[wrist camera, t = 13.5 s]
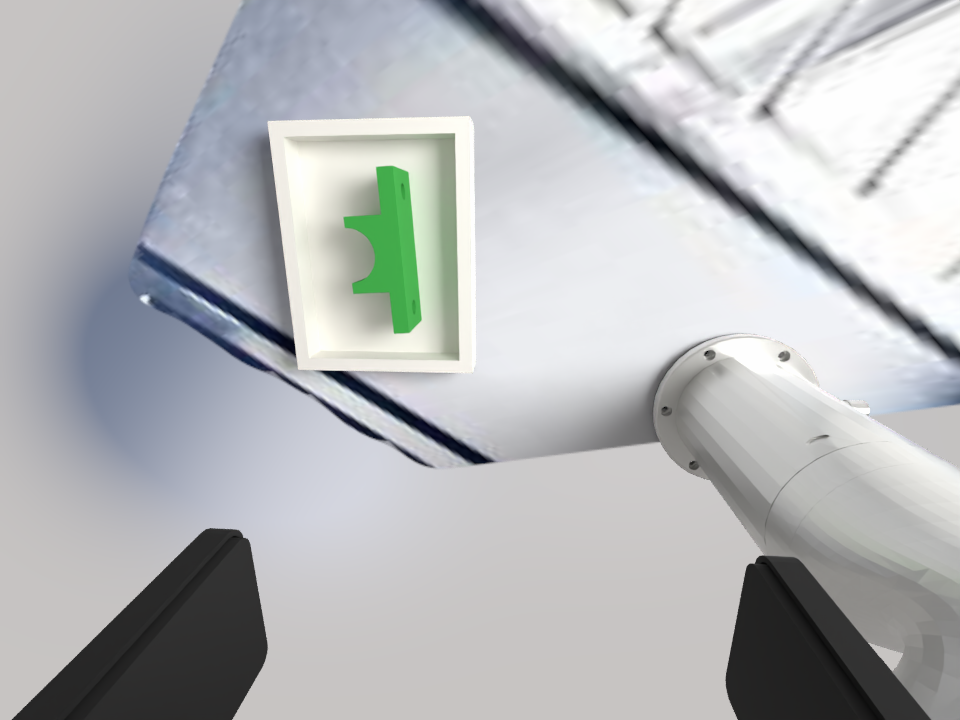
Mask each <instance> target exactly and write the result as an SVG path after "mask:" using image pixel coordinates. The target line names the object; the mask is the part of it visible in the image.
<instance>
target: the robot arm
mask: <svg viewBox="0 0 960 720" xmlns="http://www.w3.org/2000/svg"><path fill="white" fill-rule="evenodd" d="M707 350H708V354H706V355H704V353H705V352H706V351H707ZM780 353H781V354H780ZM779 354H780V355H779ZM665 406H666V408H665V409H663V410H662V408H663V407H665ZM869 411H870V408H869V405H868V403H867V402H866V401H862V400H843V401H841V400H839V399H838V398H837V397H835V396H833V395H831V394H829V393H828V392H826V391H824V390H822V389H821V388H820V386H819V382H818V380H817V377H816V375H815V373H814V370H813V369H812V368H811V366H810V365H809V364H808V362H807V361H806V360H805V359H804V358H803V357H802V356H801V355H800V354H799V353H797V352H796V351H795V350H794V349H792V348H790V347H789V346H787V345H785V344H783V343H781V342H779V341H776V340H774V339H771V338H769V337H765V336H760V335H755V334H733V335H726V336H720V337H717V338H714V339H712V340H709V341H706V342H704V343H702V344H700V345H698V346H696V347H694V348H693V349H691V350H689V351H688V352H687V353H686V354H684V355H683V356H682V357H681V358H679V359H678V360H677V361H676V362H675V363H674V365H673V366H672V367H671V368H670V369H669V370H668V371H667V373H666V375H665V376H664V378H663V380H662V381H661V383H660V385H659V388H658V390H657V393H656V396H655V401H654V407H653V420H654V426H655V430H656V434H657V437H658V439H659V440H660V442H661V444H662V446H663V448H664V449H665V451H666V452H667V454H668V455H669V456H670V458H671V459H672V460H674V461H675V462H676V463H677V464H678V465H679V466H680V467H681V468H683V469H684V470H686V471H687V472H689V473H691V474H693V475H696V476H699V477H701V478H704V479H708V480H710V481H711V482H712V483H713V485H714V486H715V488H716V489H717V490H718V492H719V493H720V494H721V496H722V497H723V499H724V500H725V501H726V502H727V504H728V505H729V507H730V508H731V510H732V511H733V512H734V514H735V515H736V516H737V518H738V519H739V520H740V522H741V523H742V525H743V526H744V528H745V529H746V530H747V532H748V533H749V534H750V536H751V537H752V538H753V540H754V541H755V543H756V544H757V545H758V547H759V548H760V549H761V551H762V552H763V554H764V555H765V556H759V557H758V558H757V559H756V562H755V564H749V565H748V566H747V568H746V572H745V577H744V583H743V588H742V593H741V598H740V604H739V609H738V615H737V620H736V625H735V630H734V635H733V641H732V646H731V651H730V657H729V662H728V667H727V672H726V689H727V693H728V697H729V700H730V703H731V705H732V707H733V710H734V712H735V714H736V716H737V719H738V720H960V468H959V467H957V466H956V465H954V464H952V463H950V462H949V461H947V460H945V459H943V458H942V457H940V456H938V455H936V454H934V453H932V452H930V451H929V450H927V449H925V448H923V447H922V446H920V445H918V444H916V443H915V442H913V441H911V440H909V439H908V438H906V437H904V436H902V435H901V434H899V433H897V432H895V431H894V430H892V429H890V428H888V427H887V426H885V425H883V424H881V423H879V422H878V421H876V420H874V419H873V418H871V417H869V416H868V415H869ZM691 461H692V462H691ZM868 643H871V644H875V645H877V646H881V647H884V648H887V649H890V650H894V651H897V652H901V653H903V656H902V658H901V660H900V662H899V664H898V665H897V667H896V668H895V669H894V670H893V671H891V670H890V669H889V668H888V666H887V665H886V664H885V663H884V661H883V660H882V659H881V658H880V657H879V656H878V655H877V653H876V652H875V651H874V650H873V649H872V647H871V646H870V645H869V644H868ZM267 648H268V647H267V638H266V632H265V627H264V621H263V615H262V609H261V604H260V598H259V592H258V586H257V581H256V575H255V570H254V563H253V558H252V552H251V547H250V542H249V540H248V539H246V538H243V535H242V533H241V532H240V531H239V530H233V529H213V528H210V529H206V530H205V531H203V532H202V533H201V534H200V535H199V536H198V537H197V538H196V539H195V540H194V541H193V542H192V543H190V545H188V546H187V547H186V549H184V550H183V551H182V552H181V553H180V554H179V555H178V556H177V557H176V558H175V559H174V560H173V561H172V562H171V563H170V564H169V565H168V566H167V567H166V568H165V569H164V570H163V571H162V572H161V573H160V574H159V575H158V576H157V577H156V578H155V579H154V580H153V581H152V582H151V583H150V584H149V585H148V586H147V587H146V588H145V589H144V590H143V591H142V592H141V593H140V594H139V595H138V596H137V597H136V598H135V599H134V600H133V601H132V602H131V603H130V604H129V605H128V606H127V607H126V608H125V609H124V610H123V611H122V612H121V613H120V614H118V615H117V616H116V618H114V619H113V621H111V622H110V623H109V624H108V625H107V626H106V627H105V628H104V629H103V630H102V631H101V632H100V633H99V634H98V635H97V636H96V637H95V638H94V639H93V640H92V641H91V642H90V643H89V644H88V645H87V646H86V647H85V648H84V649H83V650H82V651H81V652H80V653H79V654H78V655H77V656H76V657H75V658H74V659H73V660H72V661H71V662H70V663H69V664H68V665H67V666H66V667H65V668H64V669H63V670H62V671H61V672H60V673H59V674H58V675H57V676H56V677H55V678H54V679H53V680H52V681H51V682H49V683H48V684H47V685H46V687H44V688H43V690H41V691H40V692H39V693H38V694H37V695H36V696H35V697H34V698H33V699H32V700H31V701H30V702H29V703H28V704H27V705H26V706H25V707H24V708H23V709H22V710H21V711H20V712H19V713H18V714H17V715H16V716H15V717H14V718H13V719H12V720H232V719H233V717H234V715H235V714H236V712H237V710H238V709H239V707H240V705H241V703H242V702H243V700H244V698H245V696H246V695H247V693H248V691H249V689H250V688H251V686H252V684H253V682H254V681H255V679H256V677H257V675H258V674H259V672H260V670H261V669H262V667H263V664H264V662H265V659H266V655H267Z"/></svg>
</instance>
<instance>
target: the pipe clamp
mask: <svg viewBox="0 0 960 720" xmlns="http://www.w3.org/2000/svg"><path fill="white" fill-rule="evenodd" d="M376 173H377V182H378V191H379V201H380V210H381V215H365V216H348V217H343V218H344V226H345V228H350V229H354V230H357V231H359V232H361V233H362V234H363V235H365V236H366V237H367V238H368V240H369V241H370V243H371V244H372V247H373V249H374V253H375V263H374V267H373V269H372V271H371V273H370V274H369V276H368V277H366V278H364V279H362V280H359V281H357V282H354V283H352V287H353V294H362V293H386V292H389V293H390V302H391V311H392V321H393V330H394V334H402V333H410V332H411V331H412V330H413V329H414V328H415V327H416V326H417V325H418V324H419V323H420V322H421V321H422V317H421V306H420V295H419V284H418V272H417V261H416V250H415V239H414V228H413V217H412V206H411V195H410V184H409V173H408V172H407V171H405V170H402V169H400V168H397V167H395V166H379V167H376Z"/></svg>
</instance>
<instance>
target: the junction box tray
mask: <svg viewBox="0 0 960 720" xmlns="http://www.w3.org/2000/svg"><path fill="white" fill-rule="evenodd" d="M267 122H268V130H269V138H270V146H271V154H272V162H273V170H274V178H275V186H276V195H277V203H278V211H279V219H280V227H281V235H282V243H283V251H284V259H285V267H286V276H287V284H288V292H289V300H290V308H291V316H292V324H293V332H294V340H295V348H296V357H297V365H298V370H333V371H382V372H432V373H473V370H474V367H475V364H476V302H475V189H474V124H473V122H472V120H471V118H470V116H460V117H418V118H376V119H334V120H292V121H267ZM379 166H395V167H397V168H400V169H402V170H405V171H407V172H408V173H409V184H410V195H411V206H412V217H413V228H414V239H415V250H416V261H417V272H418V284H419V295H420V306H421V317H422V321H421V322H420V323H419V324H418V325H417V326H416V327H415V328H414V329H413V330H412V331H411V332H410V333H402V334H394V330H393V321H392V311H391V302H390V293H389V292H386V293H362V294H353V287H352V283H354V282H357V281H359V280H362V279H364V278H366V277H368V276H369V274H370V273H371V271H372V269H373V267H374V263H375V253H374V249H373V247H372V244H371V243H370V241H369V240H368V238H367V237H366V236H365V235H363V234H362V233H361V232H359V231H357V230H354V229H350V228H345V226H344V218H343V217H348V216H365V215H381V210H380V201H379V191H378V182H377V173H376V167H379Z"/></svg>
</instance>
